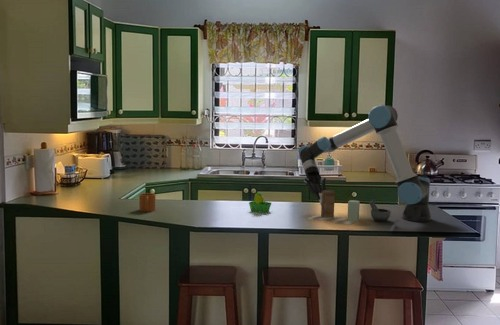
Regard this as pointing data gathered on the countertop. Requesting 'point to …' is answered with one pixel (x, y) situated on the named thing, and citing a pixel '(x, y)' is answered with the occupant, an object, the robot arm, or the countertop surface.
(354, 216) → the sage-green block
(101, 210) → the countertop surface
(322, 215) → the walnut block
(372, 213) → the mortar and pestle
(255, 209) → the fruit basket
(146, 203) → the mug
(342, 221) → the maple board
